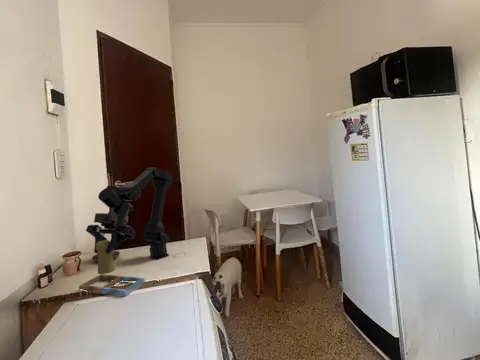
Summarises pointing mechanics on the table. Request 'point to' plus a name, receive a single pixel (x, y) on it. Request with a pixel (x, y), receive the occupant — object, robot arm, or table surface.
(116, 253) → the brown hat
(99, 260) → the olive green tapered cylinder
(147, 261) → the table surface
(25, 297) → the table surface
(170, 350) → the table surface
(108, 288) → the two-pocket rack
